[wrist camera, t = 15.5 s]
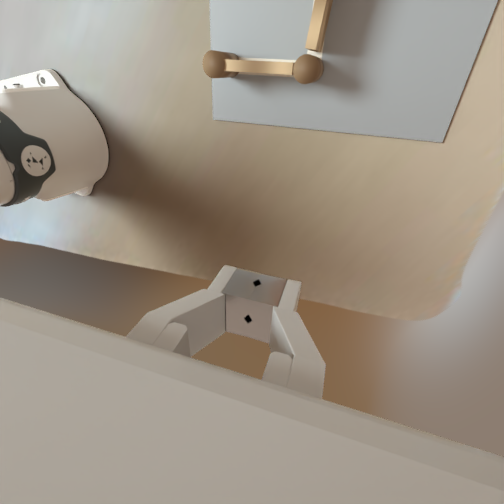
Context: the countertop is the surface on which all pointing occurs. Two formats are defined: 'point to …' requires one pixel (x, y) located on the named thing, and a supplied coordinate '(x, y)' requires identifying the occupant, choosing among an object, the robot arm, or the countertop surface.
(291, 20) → the card
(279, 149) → the countertop surface
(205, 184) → the countertop surface
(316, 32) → the rail
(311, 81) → the fixed rail
